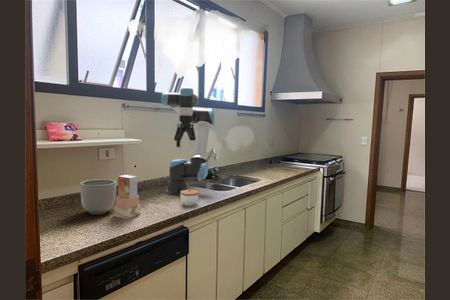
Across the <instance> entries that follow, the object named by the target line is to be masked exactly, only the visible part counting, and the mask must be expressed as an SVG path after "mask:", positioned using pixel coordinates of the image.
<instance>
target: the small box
mask: <svg viewBox="0 0 450 300" xmlns="http://www.w3.org/2000/svg"><path fill="white" fill-rule="evenodd" d="M137 195H138V175H131V174H123V175H118V176H117V196H121V197H125V198H129V199H130V198H133V197H136V196H137Z"/></svg>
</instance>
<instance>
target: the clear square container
mask: <svg viewBox="0 0 450 300" xmlns="http://www.w3.org/2000/svg"><path fill="white" fill-rule="evenodd" d="M113 210H114V212H113V216H114V217H117V218H122V219H127V220H129V219H132V218H135V217H136V216H139V215H141V204H139V205H138V206H135V207H132V208H129V209H125V208H121V207H116V205H115V206H113Z"/></svg>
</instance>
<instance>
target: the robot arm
mask: <svg viewBox="0 0 450 300" xmlns="http://www.w3.org/2000/svg"><path fill="white" fill-rule="evenodd" d="M160 99H161V101H160V103H161V104H162V106H165V107H166V106H167V107H168V106H169V107H170V108H171V109H172V110H174V111H175V112H176V113H177V114H178V115H179V116H178V117H179V121H178V122H179V123H177V127H176V130H175V131H176V132H175V134H174V138H173V140H174V141H175V142H176V143H175V144H176V154H177V153H179V154H181V153H182V141H181V140H182V139H183V136H184V134H185V133H186V134H187V136H188V139H189V140H188V152H193V154H192V157H190V159H189V160H190V161H188V159H187V158H178V159H173V160H171V161H170V162H169V175H168V176H169V180H168V184H167V187H166V193H167V194H169V195H177V196H178V195H180V192H181V191H182V190H189V186H188V184H187V179H196V180H204V179H206V178H207V176H208V173H209V170H210V169H209V167H210V164H209V162H208V160H207V158H206V154H207V149H208V141H209V135H210V129H211V128H212V127H213V125H215V123H216V118H215V117H216V116H215V115H216V114H215V111H214V108H207V107H196V106H197V105H198V104H199V97H198V96H197V94H194V89H193V88H192V87H181V88H180V90H179V92H163V93H162V94H161V97H160ZM194 124H195V125H196V126H197V128H196V129H197V130H196V134H195V128H194ZM194 141H195V142H194Z"/></svg>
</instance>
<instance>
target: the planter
mask: <svg viewBox="0 0 450 300" xmlns="http://www.w3.org/2000/svg"><path fill="white" fill-rule="evenodd" d="M79 189H80V190H79V191H80V193H79V194H80V201H81V205H82V208H83V210H85V211H86V212H88V213H89V214H90V215H93V216H94V215H95V216H97V215H98V216H99V215H104V214H107V213H108V212H109V210H111V209H112V208H113V207H114V205H115V203H116V196H117V194H116V193H117V181H116V180H114V179H109V178H106V179H105V178H102V179H101V178H100V179H89V180H88V179H87V180H83V181H81V182H80V183H79Z"/></svg>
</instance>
